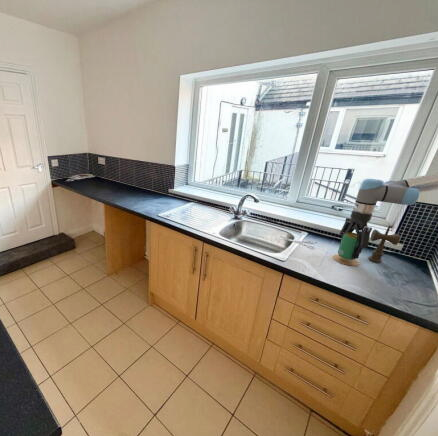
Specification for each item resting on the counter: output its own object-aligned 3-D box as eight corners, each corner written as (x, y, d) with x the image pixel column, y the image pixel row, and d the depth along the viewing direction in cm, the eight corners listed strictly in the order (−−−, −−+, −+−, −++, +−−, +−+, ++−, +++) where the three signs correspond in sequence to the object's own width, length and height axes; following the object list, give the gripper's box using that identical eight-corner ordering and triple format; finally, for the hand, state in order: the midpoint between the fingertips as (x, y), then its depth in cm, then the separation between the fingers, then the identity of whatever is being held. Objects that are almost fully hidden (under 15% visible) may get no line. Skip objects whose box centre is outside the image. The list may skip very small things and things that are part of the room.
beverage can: (343, 250, 130) (350, 230, 125) (360, 258, 123) (368, 237, 118) (333, 254, 127) (340, 233, 122) (350, 261, 120) (358, 240, 115)
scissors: (317, 249, 134) (277, 240, 144) (317, 250, 135) (277, 241, 144) (317, 241, 143) (279, 233, 152) (316, 243, 143) (279, 234, 153)
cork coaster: (349, 255, 130) (349, 254, 130) (365, 266, 120) (365, 265, 120) (327, 254, 131) (328, 254, 131) (341, 265, 120) (342, 264, 120)
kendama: (361, 255, 130) (375, 221, 122) (385, 260, 125) (401, 225, 118) (363, 260, 125) (378, 225, 118) (388, 266, 121) (405, 230, 113)
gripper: (339, 204, 126) (327, 244, 134) (371, 219, 106) (355, 264, 114) (354, 205, 126) (341, 244, 134) (389, 219, 106) (372, 264, 114)
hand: (348, 253), depth 124 cm, fingers closed on beverage can, 8 cm apart
